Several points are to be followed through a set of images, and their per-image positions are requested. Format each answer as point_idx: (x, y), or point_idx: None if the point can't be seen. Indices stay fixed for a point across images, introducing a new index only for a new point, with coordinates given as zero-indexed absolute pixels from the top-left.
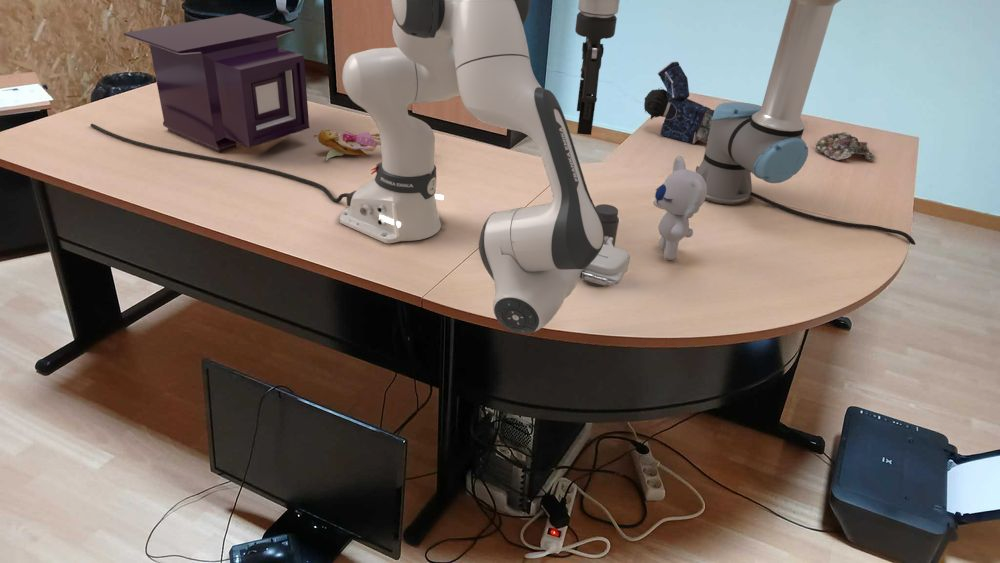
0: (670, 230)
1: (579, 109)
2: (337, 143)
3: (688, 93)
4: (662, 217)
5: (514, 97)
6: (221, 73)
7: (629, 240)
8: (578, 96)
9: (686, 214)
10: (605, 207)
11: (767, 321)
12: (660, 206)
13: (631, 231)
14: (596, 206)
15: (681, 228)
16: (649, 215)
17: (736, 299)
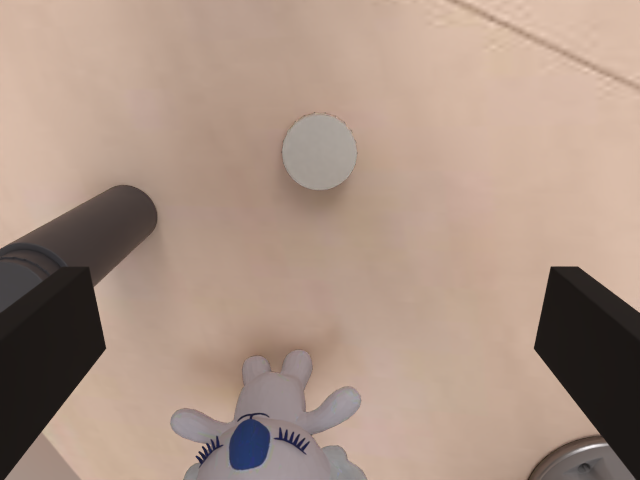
0: (237, 403)
1: (555, 289)
2: None
3: None
4: (277, 397)
5: None
6: None
7: (329, 292)
8: (627, 327)
9: (190, 471)
10: (23, 294)
11: (92, 477)
12: (323, 402)
13: (375, 299)
14: (19, 266)
15: (186, 437)
16: (463, 342)
17: (145, 447)
